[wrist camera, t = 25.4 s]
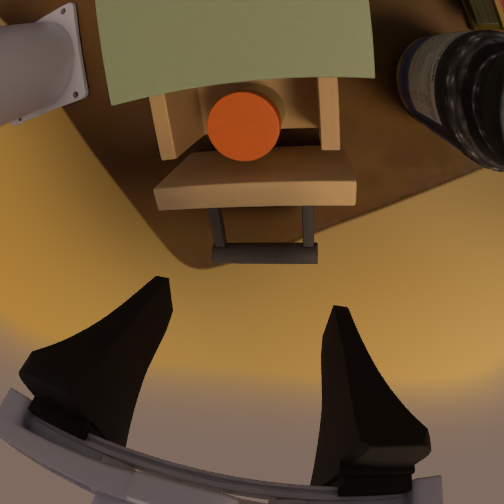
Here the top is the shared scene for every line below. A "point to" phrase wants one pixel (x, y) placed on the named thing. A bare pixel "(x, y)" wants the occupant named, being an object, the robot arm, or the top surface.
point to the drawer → (255, 165)
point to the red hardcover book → (484, 14)
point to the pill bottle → (458, 90)
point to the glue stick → (246, 122)
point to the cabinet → (229, 42)
